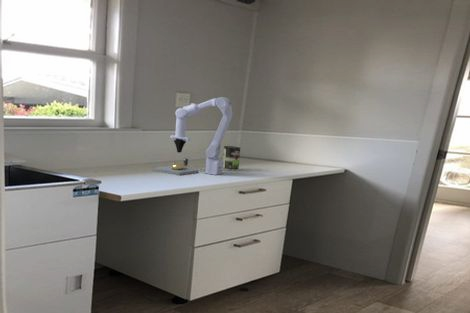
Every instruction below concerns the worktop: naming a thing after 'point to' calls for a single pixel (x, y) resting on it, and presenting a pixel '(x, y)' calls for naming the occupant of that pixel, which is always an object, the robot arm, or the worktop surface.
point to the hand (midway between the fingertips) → (179, 152)
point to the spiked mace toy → (180, 165)
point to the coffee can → (231, 158)
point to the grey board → (173, 171)
